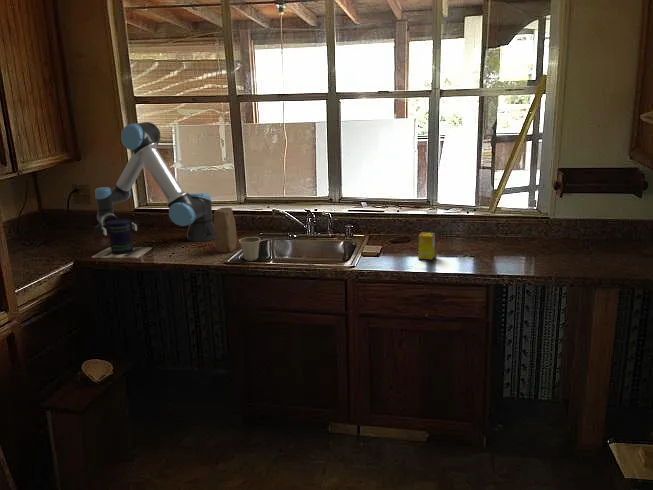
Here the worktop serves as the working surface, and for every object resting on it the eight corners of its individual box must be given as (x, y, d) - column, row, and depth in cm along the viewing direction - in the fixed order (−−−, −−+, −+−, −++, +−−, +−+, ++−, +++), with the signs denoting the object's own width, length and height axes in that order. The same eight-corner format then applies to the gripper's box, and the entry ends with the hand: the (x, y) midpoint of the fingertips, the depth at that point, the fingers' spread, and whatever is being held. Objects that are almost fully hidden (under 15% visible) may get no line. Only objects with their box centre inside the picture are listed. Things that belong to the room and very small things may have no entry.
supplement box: (421, 256, 251) (421, 232, 248) (434, 257, 249) (435, 232, 246) (418, 260, 246) (418, 235, 243) (432, 261, 244) (432, 236, 241)
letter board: (152, 248, 278) (151, 247, 278) (137, 258, 262) (136, 256, 262) (109, 248, 281) (109, 247, 281) (91, 257, 265) (91, 256, 265)
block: (229, 253, 265) (225, 211, 260) (214, 252, 267) (210, 210, 262) (239, 247, 275) (236, 206, 269) (225, 246, 277) (222, 205, 272)
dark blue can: (137, 248, 276) (133, 218, 272) (128, 254, 266) (124, 223, 262) (117, 249, 277) (113, 218, 273) (107, 254, 267) (103, 223, 263)
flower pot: (251, 262, 250) (249, 243, 248) (235, 259, 256) (234, 240, 253) (266, 257, 257) (264, 238, 255) (250, 254, 263) (249, 236, 260)
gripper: (137, 225, 291) (149, 233, 273) (85, 233, 278) (93, 242, 261) (135, 211, 289) (147, 218, 271) (82, 218, 276) (91, 226, 259)
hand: (121, 230), depth 266 cm, fingers open, 13 cm apart
